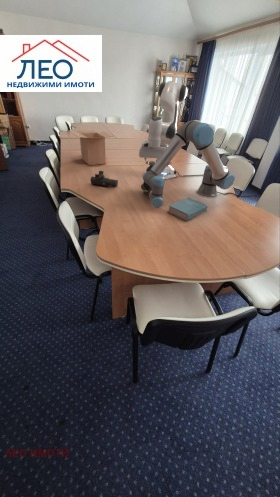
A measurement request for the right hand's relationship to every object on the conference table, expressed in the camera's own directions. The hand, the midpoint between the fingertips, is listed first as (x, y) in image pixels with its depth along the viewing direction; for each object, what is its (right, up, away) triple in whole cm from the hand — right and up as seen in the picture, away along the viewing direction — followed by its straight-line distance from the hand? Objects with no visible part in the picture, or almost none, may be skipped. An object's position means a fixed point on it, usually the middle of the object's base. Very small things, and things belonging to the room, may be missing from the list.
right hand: (149, 182), depth 176 cm
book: (+25, -27, -23) cm, 44 cm away
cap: (+2, +11, -14) cm, 18 cm away
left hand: (+2, +10, -13) cm, 17 cm away
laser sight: (-37, 0, +7) cm, 38 cm away
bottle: (0, -8, 0) cm, 8 cm away
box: (-57, +41, +61) cm, 93 cm away
